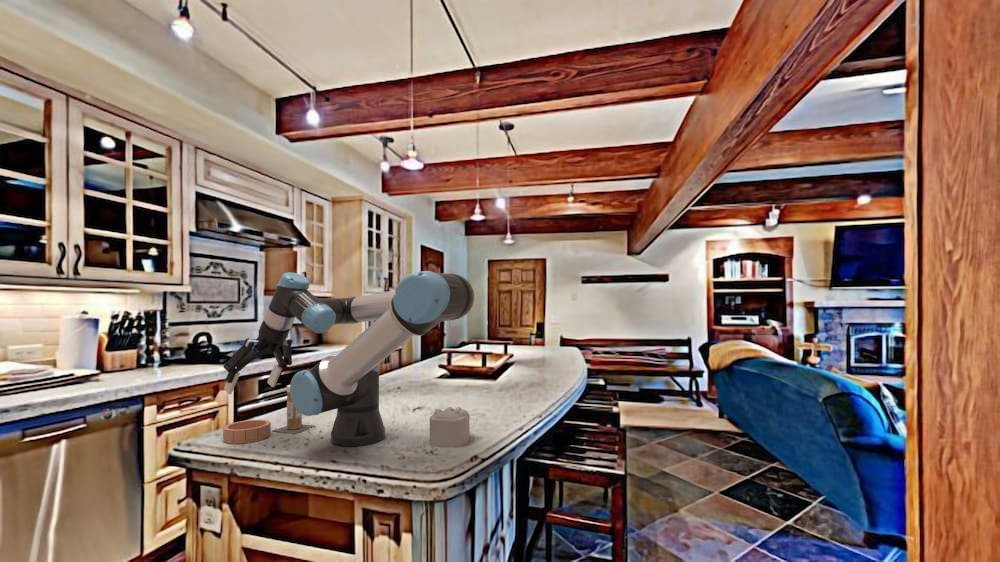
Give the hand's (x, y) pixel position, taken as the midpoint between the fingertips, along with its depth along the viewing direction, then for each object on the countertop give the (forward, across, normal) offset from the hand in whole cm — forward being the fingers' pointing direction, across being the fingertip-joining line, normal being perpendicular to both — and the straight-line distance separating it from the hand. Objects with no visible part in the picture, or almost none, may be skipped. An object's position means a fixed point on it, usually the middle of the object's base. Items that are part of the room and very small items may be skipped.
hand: (250, 387), depth 137 cm
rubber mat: (+12, -14, +9) cm, 21 cm away
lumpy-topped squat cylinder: (-14, -25, +53) cm, 60 cm away
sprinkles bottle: (+12, -14, +9) cm, 20 cm away
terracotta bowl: (+14, -2, +5) cm, 15 cm away
